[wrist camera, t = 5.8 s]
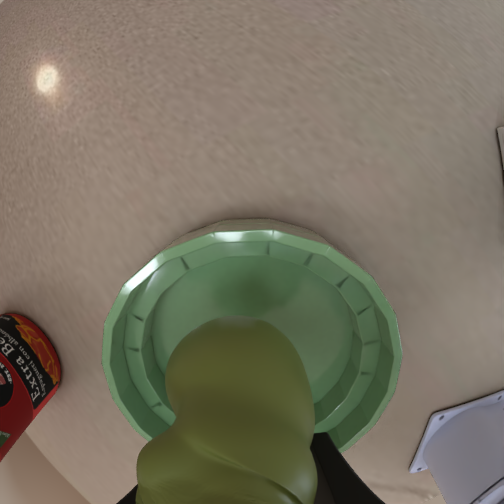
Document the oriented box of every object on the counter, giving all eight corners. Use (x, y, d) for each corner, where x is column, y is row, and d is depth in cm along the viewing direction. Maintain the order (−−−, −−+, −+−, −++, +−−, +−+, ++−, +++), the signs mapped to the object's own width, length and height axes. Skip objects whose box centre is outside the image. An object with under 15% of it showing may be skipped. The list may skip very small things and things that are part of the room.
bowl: (380, 214, 17) (417, 226, 12) (357, 422, 20) (373, 465, 16) (115, 224, 17) (76, 239, 13) (155, 427, 20) (139, 469, 16)
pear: (313, 372, 14) (379, 555, 4) (217, 412, 15) (201, 591, 5) (262, 274, 13) (303, 463, 3) (156, 325, 14) (55, 505, 4)
